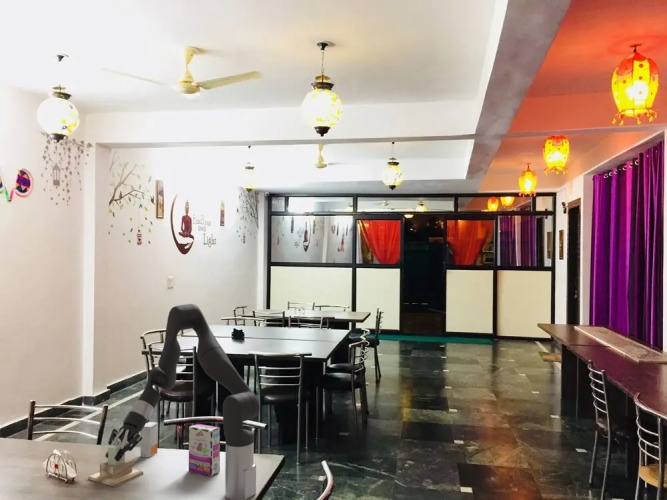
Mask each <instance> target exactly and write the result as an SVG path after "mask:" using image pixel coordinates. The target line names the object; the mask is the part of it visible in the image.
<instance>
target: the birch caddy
mask: <svg viewBox="0 0 667 500" xmlns="http://www.w3.org/2000/svg"><path fill="white" fill-rule="evenodd" d="M143 475H144V471H143V470H140V469H139V470H138V469H136V468H133V460H129V461H125V463H124V464H121V465H119V466H117V467H113V466H109V465H108V460H107V461H105V462H102V463H100V464H99V471H98V472H96V473H95V472H94V473H92V474H91V475H88V476H87V477H88V480H90V481H93V482H97V483H100V484H103V485H108V486H111V487H114V488H117V487H119V486H121V485H123V484H125V483H128V482H130V481H132V480H134V479H136V478H138V477H140V476H143Z"/></svg>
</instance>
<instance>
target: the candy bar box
mask: <svg viewBox="0 0 667 500" xmlns="http://www.w3.org/2000/svg"><path fill="white" fill-rule="evenodd" d="M220 455H221V427H219V426H212V425H209V424H208V425H206V424H201V423H195V424H194V425H193V424H192V425H190V426H188V472H191V473H194V474H198V475H203V476H208V477H213V476H215V475H217V474H219V473H220V472H221V469H220V468H221V467H220V466H221V465H220V464H221V463H220V461H221V458H220V457H221V456H220Z"/></svg>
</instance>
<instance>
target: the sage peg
mask: <svg viewBox="0 0 667 500" xmlns="http://www.w3.org/2000/svg"><path fill="white" fill-rule="evenodd" d="M122 444H123V443H122ZM122 444H118V443H117V442H116V443H115V444H114V445H112V446H110V445H109V446H107V451H108V458H107V461H108V465H109V466H113V467H117V466H119V465H121V464H124V463H126V452H125V453H124V455H123V457H122V458H121V459H120V460H119V461H116V460H115V459H114V457H115V456H116V454H117V453H118V451H119V449H121V446H122Z"/></svg>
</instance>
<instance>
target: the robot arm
mask: <svg viewBox="0 0 667 500" xmlns="http://www.w3.org/2000/svg"><path fill="white" fill-rule="evenodd" d="M191 329H192V330H193V331H194V333H195V334H196V335H197V339H198V340H197V341H198V342H197V343H198V344H197V349H196V357H197V358H196V359H197V361H198V363H199V364H200V366H201V368H202V369H203V371H204V372H205V374H206V375H207V376H208V377H210V378H211V379H212V380H213V381H215V382H217V384H220V385H221V386H223V387H224V388H225V389H227V390H228V391H229V393H231V395H228V396H226V398H225V399H224V400H223V403H222V423H223V435H224V437H225V467H224V468H225V475H224V476H225V487H224V488H225V489H224V490H225V491H224V493H225V495H224V496H225V497H226V499H228V500H249V499H250V498H252V497H253V496H254V495H256V494H257V465H256V464H254V463H255V461H254V460H255V459H254V456H255V455H254V454H255V453H254V451H255V449H254V448H255V447H254V445H255V444H254V443H255V436H254V435H255V434H254V432H253V431H251V430H248V429H246V428H245V429H244V425H243V423H244V422H246V421H250V420H252V419H255V418H256V417H257V416H258V415H259V414H260V409H261V408H260V402H259V399H258V398H257V396H256V394H255V393H254V392H253V390H252V388H250V387H249V385H248V384H247V382H246V381H245V380H244V379H243V377H242V376H241V375H240V374H239V372H238V370H237V369H236V368H235V367H234V365H233V364H232V362H231V360H230V359H229V357H228V355H227V354H226V352H225V350H224V349H223V347H222V346H221V344H220V343H219V341H218V340H217V338H216V336H215V335H214V333H213V331H212V330H211V328H210V326H209V324H208V322H207V319H206V318H205V315H204V314H203V312H202V310H201V309H200V306H198V305H197V304H195V303H188V304H181V305H175V306H173V307H171V309H170V310H169V313H168V317H167V322H166V327H165V336H164V344H163V347H162V351H161V354H160V356H159V359H158V362H157V365H158V366H155V367H153V368H152V369H151V370H150V371H149V374H148V377H147V382H146V385H145V387H144V390H143V391H142V392H141V394H140V396H139V397H138V399H137V401H136V402H135V403H134V404H133V406H132V407H131V409H129V412H128V413H127V415H126V417H125V418H124V419H123V422H122V423H123V425H122V426H121V427H119V429H116V428H113V429H112V431H111V433H110V436H109V439H108V442H107V444H108V445H109V446H112V445H114V444H117V443H118V444H122V446H121V449H119V451H118V453H117V454H116V456H115V457H114V459H115V460H116V461H119V460H120V459H121V458H122V457H123V455H124V453H125V454H126V452H128V451H129V452H131V451H132V450H133V449H134V448H136V446H137V445H138V444H140V443H141V440H142V437H141V434H140V433H141V431H142V429H143V428H144V426H145V424H146V423H148V422H149V419H150V418H151V416H152V414H153V411H154V410H155V409H156V407H157V405H158V404H159V403H160V402H159V401H160V400H161V394H160V392H158V391H157V390H156V388H154V387H153V386H155V387H157V388H160V389H161V390H165V391H170V390H171V389H173V388H174V387H175V384H176V382H177V366H178V363H179V360H180V357H181V354H182V349H181V345H180V343H179V341H178V335H179V332H180V331H185V330H191ZM105 458H106V459H108V450H106V452H105Z"/></svg>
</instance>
